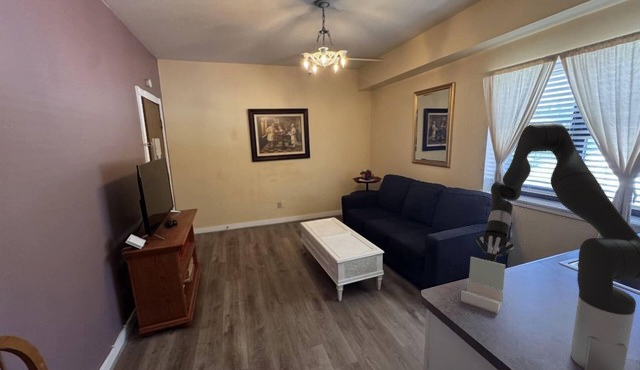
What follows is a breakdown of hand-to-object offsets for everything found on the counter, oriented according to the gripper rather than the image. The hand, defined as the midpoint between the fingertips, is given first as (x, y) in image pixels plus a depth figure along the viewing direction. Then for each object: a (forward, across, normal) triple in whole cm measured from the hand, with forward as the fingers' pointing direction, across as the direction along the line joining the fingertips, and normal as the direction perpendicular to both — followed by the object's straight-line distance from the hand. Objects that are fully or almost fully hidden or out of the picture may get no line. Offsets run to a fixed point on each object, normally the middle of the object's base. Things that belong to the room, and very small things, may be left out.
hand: (490, 263), depth 99 cm
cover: (+5, 0, -3) cm, 6 cm away
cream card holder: (+15, 0, -1) cm, 15 cm away
